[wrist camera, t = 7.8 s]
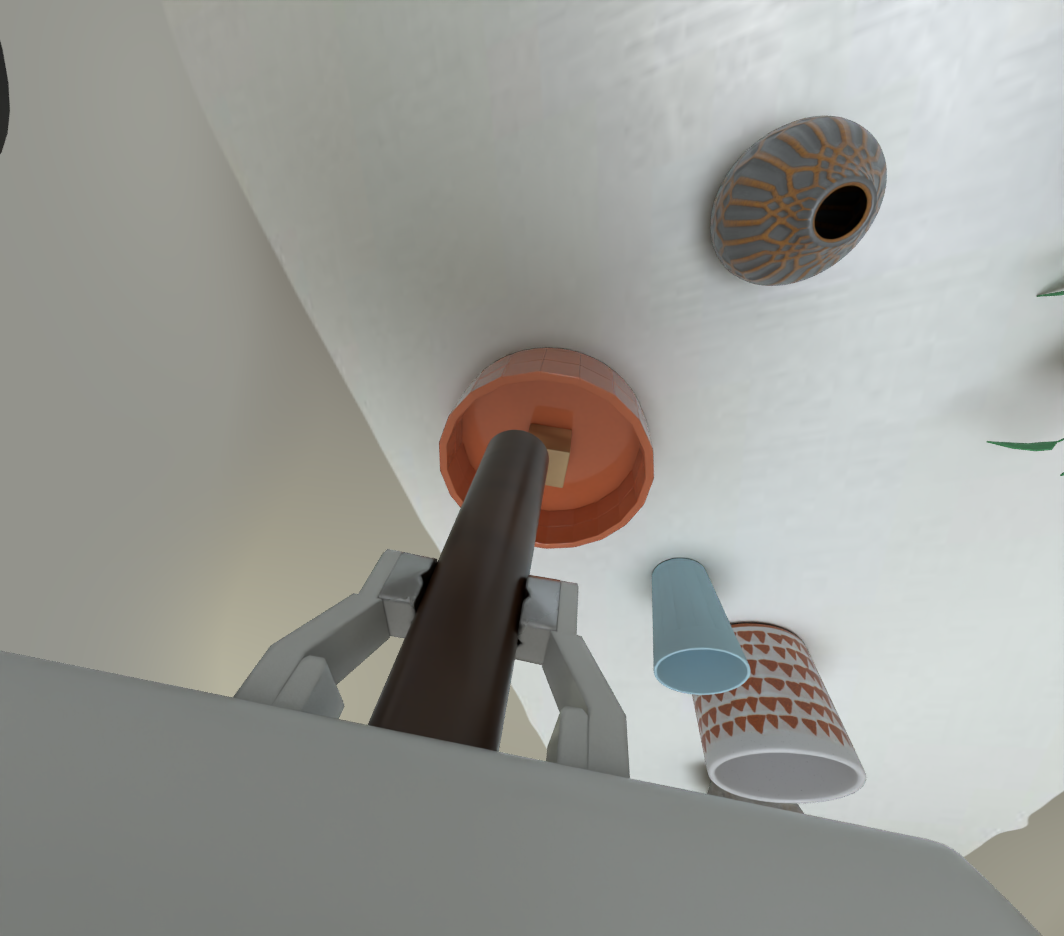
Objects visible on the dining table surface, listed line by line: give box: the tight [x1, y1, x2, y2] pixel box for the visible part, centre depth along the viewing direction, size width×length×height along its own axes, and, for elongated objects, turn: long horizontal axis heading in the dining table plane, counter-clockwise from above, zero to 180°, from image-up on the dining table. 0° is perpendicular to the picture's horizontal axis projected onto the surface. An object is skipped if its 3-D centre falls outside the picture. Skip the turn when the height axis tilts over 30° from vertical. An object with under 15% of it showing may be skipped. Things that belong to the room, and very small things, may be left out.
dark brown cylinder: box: [368, 430, 549, 752], centre depth 12 cm, size 3×3×13 cm
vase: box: [711, 116, 887, 286], centre depth 19 cm, size 7×7×9 cm
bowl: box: [439, 348, 654, 549], centre depth 31 cm, size 16×16×5 cm
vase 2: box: [692, 623, 866, 803], centre depth 42 cm, size 14×14×13 cm
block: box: [528, 424, 572, 488], centre depth 31 cm, size 4×4×4 cm
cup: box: [652, 558, 751, 695], centre depth 37 cm, size 8×8×10 cm
